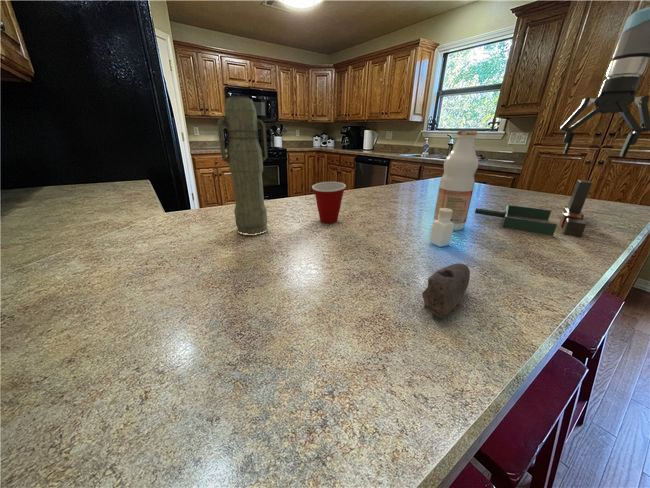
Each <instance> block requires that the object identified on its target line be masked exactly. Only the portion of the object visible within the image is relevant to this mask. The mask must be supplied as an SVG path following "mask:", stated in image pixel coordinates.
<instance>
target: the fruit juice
mask: <svg viewBox="0 0 650 488" xmlns="http://www.w3.org/2000/svg"><path fill="white" fill-rule="evenodd" d="M477 134H478V131H477V130H457V133H456V138H457V139H456V142H455V144H454V145H453V147H452V149H451V151H450V152H449V154H448V155H447V156H446V158H444V161H443V174H442V175H441V177H440V182H439V184H438V191H437V197H436V202H435V208H434V214H433V219H432V223H433V222H434V221H435V220H438V214H439V209H440V208H448V209H451V210H453V212H452V217H451V220H450V221H451V222H452V223H453V224H454V228H453V231H461V230H463V229H464V228H465V227H466V222H467V219H468V214H469V210H470V205H471V202H472V197H473V193H474V188H475V174H476V172H477V170H478V168H479V157H478V156H477V153H476V147H475V145H476V144H475V139H476V138H477Z"/></svg>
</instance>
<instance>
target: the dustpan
mask: <svg viewBox="0 0 650 488" xmlns="http://www.w3.org/2000/svg"><path fill="white" fill-rule="evenodd" d="M551 213H552V210H551V209H545V208H544V209H543V208H538V207H537V208H536V207H530V206H523V205H522V206H521V205H514V204H507V205H506V208H505V211H501V210H493V209H486V208H479V207H475V211H474V214H476V215H480V216H481V215H482V216H489V217H494V218H501V219H503V221H502V228H506V229H511V230H515V231H516V230H518V231H524V232H527V233H535V234H539V235H540V234H541V235H547V236H554V234H555V232H556V230H557V226H558V223H554V222H553V223H552V222H547V221H549V219H550V216H551ZM513 216H514V217H513ZM515 216H516V217H515ZM519 217H520V218H519ZM521 217H522V218H521ZM526 218H529V219H526ZM532 219H535V220H532ZM539 220H543V221H539Z"/></svg>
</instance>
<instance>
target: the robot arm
mask: <svg viewBox="0 0 650 488" xmlns="http://www.w3.org/2000/svg"><path fill="white" fill-rule="evenodd" d="M617 41H618V42H617V45H616V47H615V50H614V52H613V55H612V59H611V60H610V63H609V67H608V69H607V71H606V75H605V78H606V79H605V80H604V81H603V82H602V85H601V88H600V91H599V94H598V95H597V97H596V98H592V97H590V96H588V97H584V99H582V102H581V104H580V106H578V108H577V109H576V110H575V111H574V112H573V113H572V115H570V117H569V118H568V119H567V120H566V121H565V122H564V123H563V124H562V125H561V126H560V128H559V129H560V131H563V132H565V135H564V137H563V141H562V142H563V144H565V146H564V149H563V152H562V154H563V155H568V154H569V150H570V147H571V146H572V145H571V144H572V142H573V139H574V137H575V132H573V131H575V130H576V129H578V128H579V127H580V126H581V125H583V124H584V123H586V122H587V121H589V120H590V119H591V118H592V117H594V116H596V115H597V114H601V115H605V114H610V115H615V114H618V113H619V114H620V115H621V116H622V118H623V119H624V121H625V122H626V124H627V125H628V127H629V129H630V130H631V131H632V133H631V132H630V133H628V135H627V136H626V139H625V140H624V143H623V145H622V148H621V150H620V153H619V155H618V156H619V157H621V158H626V156H627V153H628V152H629V150H630V146H635V145H636V144H637V142H638V139H639V137H640V135H641V134H642V133H645V132H650V109H649V106H648V103H649V100H650V95H648V94H646V95H642V96H635V94H636V92H637V89H638V87H639V85H640V83H641V79H642V78H641V76H642V75H643V74H644V73H645V70H646V67H647V65H648V62H649V60H650V6H647V7H644V8H642V9H638V10H636V11H634V12H632V13H631V14H630V15H629V16H628V18H627V19H626V22H625V24H624V26H623V29H622V30H621V34H620V37H619V38H618V40H617ZM633 103H635V105H636V106H637V110H638V115H639V120H640V124H641V126H640V124H639V123H638V121H637V120H636V118H635V117H634V115H633V114H632V112H631V110H630V109H629V106H630V105H631V104H633ZM592 104H594V106H595V108H594V109H592V110H591V111H590V112H589V113H587V114H586V115H584V116H583V117H582V118H581V119H579V120H578V121H576V122H575V123H573V122H574V121H575V120H576V119H577V118H578V116H579V115H581V113H582V112H583V111H584V110H585V109H586V108H587V107H589V106H591V105H592ZM572 123H573V124H572ZM571 124H572V125H571Z"/></svg>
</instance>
